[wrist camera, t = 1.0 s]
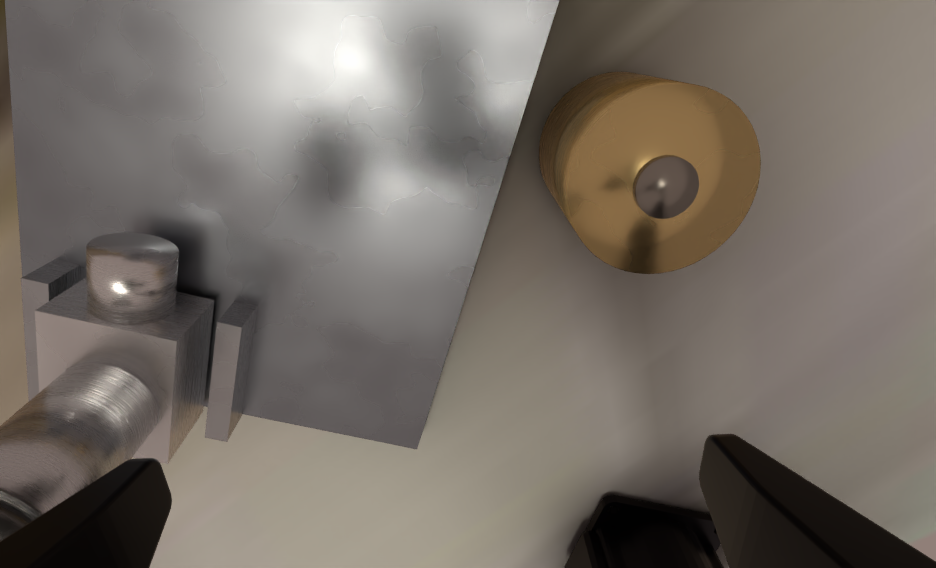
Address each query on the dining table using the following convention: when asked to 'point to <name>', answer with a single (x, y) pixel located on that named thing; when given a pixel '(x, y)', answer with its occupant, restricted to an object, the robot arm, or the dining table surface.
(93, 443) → the ram
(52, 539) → the robot arm
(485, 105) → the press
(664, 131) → the cylinder
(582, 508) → the dining table surface
